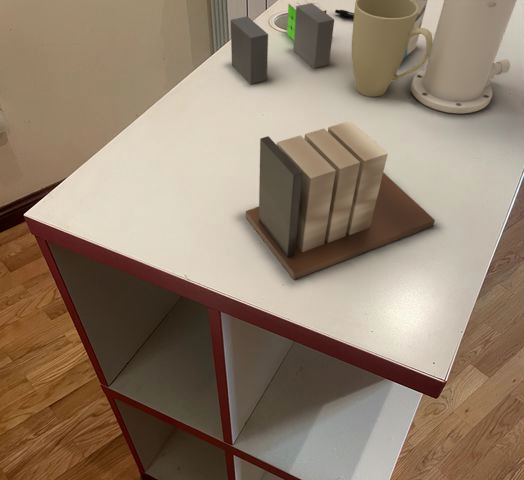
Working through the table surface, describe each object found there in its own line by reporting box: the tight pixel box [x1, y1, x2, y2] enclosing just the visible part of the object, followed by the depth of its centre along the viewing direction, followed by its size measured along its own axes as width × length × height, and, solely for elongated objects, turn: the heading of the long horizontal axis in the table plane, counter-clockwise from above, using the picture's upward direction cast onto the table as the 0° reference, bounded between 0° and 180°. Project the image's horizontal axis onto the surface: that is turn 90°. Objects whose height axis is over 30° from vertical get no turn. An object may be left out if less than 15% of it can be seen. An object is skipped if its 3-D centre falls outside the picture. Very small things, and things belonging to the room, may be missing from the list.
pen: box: [334, 9, 354, 20], centre depth 96 cm, size 14×2×1 cm, turn 59°
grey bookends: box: [230, 3, 335, 85], centre depth 84 cm, size 15×7×7 cm, turn 118°
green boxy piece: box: [286, 0, 328, 41], centre depth 91 cm, size 5×5×5 cm
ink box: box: [403, 0, 428, 60], centre depth 84 cm, size 9×5×15 cm, turn 146°
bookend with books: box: [245, 120, 436, 280], centre depth 59 cm, size 20×12×12 cm, turn 118°
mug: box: [351, 0, 434, 97], centre depth 78 cm, size 11×10×12 cm
